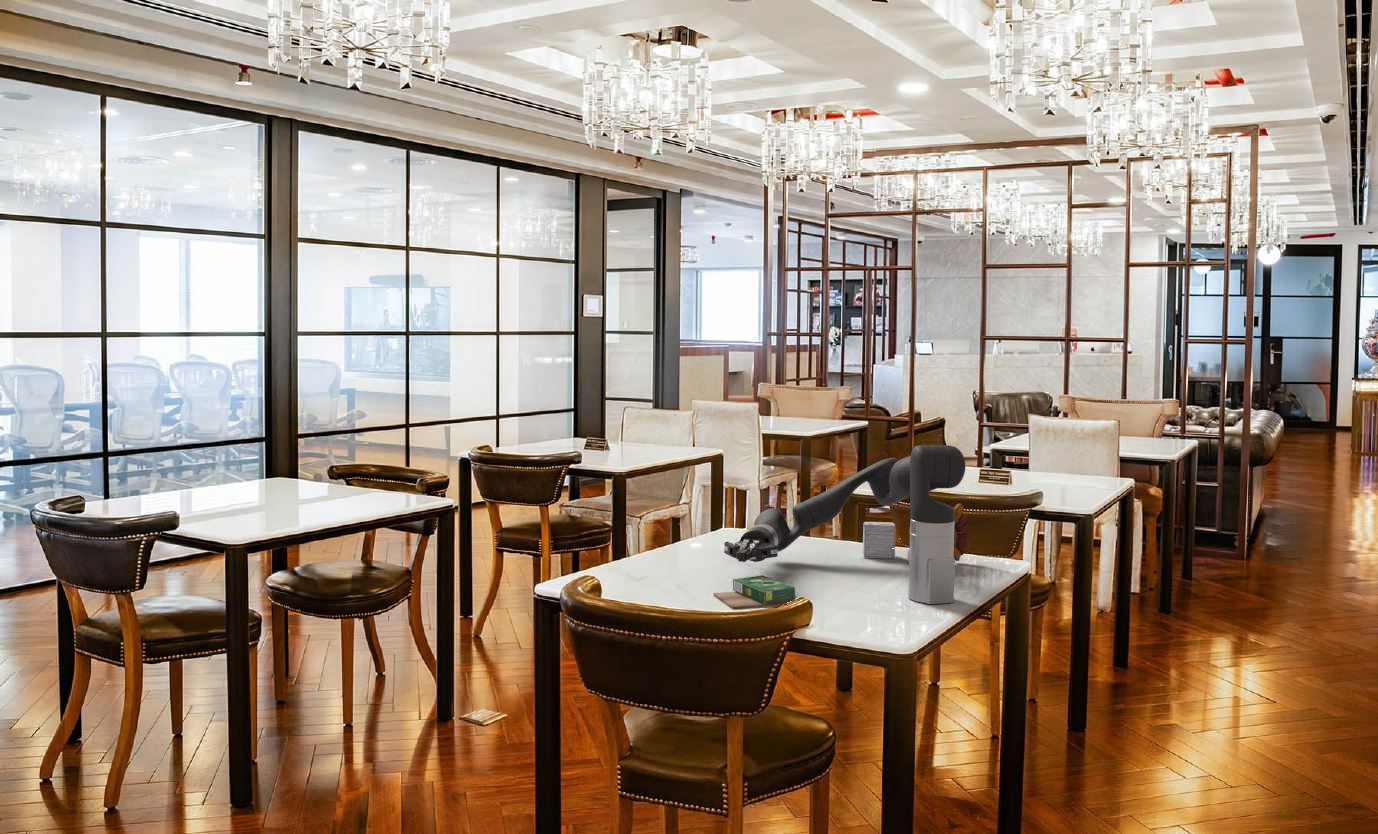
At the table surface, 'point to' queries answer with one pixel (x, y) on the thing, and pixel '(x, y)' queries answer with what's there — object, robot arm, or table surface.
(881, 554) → the medicine box
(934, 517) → the robot arm
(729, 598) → the board
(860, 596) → the table surface
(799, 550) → the table surface
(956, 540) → the mug
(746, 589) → the coffee box
